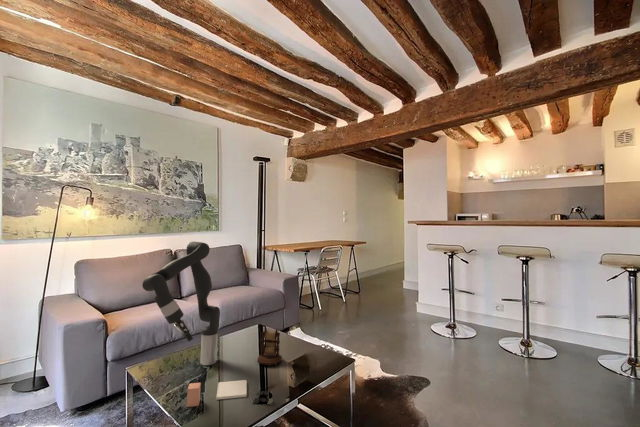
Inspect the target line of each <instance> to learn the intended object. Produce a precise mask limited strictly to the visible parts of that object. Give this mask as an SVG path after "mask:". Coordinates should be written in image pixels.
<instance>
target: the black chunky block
mask: <svg viewBox="0 0 640 427" xmlns="http://www.w3.org/2000/svg"><path fill="white" fill-rule="evenodd" d="M269 394H270V393H269V391H267V390H266V391H265V390H261V391H260V392H259V395H258V397H254V399H253V401H252V405H260V406H261V405H262V406H264V405H263V404H267V403H268V401H269V397H270V395H269Z"/></svg>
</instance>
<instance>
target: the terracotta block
mask: <svg viewBox="0 0 640 427" xmlns="http://www.w3.org/2000/svg"><path fill="white" fill-rule="evenodd" d="M201 386H202V384H201V382H192V383H189V385H188V387H187V392H186V393H187V397H186V407H187V408H189V407H199V406H200V401H201V388H202V387H201Z"/></svg>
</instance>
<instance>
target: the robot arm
mask: <svg viewBox="0 0 640 427" xmlns="http://www.w3.org/2000/svg"><path fill="white" fill-rule="evenodd" d="M209 253H210V246H209V245H208V243H206V242H202V241H190V242H188V244H187V246H186V255H184V256H181V257H179V258H176V259H174V260H172V261H170V262H168V263H167V264H165V266H163V267H162V268H160V269H159V270H158V271H157V270H156V272H154V273H152V274H150V275H149V276H147V277H146V278H145V279H144V280H143V281H142V288H143V290H145V291H146V292H155V297H154V302H155V303H156V305H157V306H158V308H159V309H160V312H161V314H162V315H163V317H164V319H165V320H166V321H167V323H168V325H173V324H174V327H175V328H176V329H177V331H179V332H180V334H181V335H182V336H183V338H184V339H186V340H187V341H188V342H191V341H192V340H193V339H194V338H193V337H192V334H191V333H190V329H188V326H187V324H186V322H185V321H184V320H183V319H182V318H183V317H184V312H183V310H182V308H180V307H181V306H179V304H178V302H177V301H176V300H175V299H174V298H173V295H172V294H171V292H170V290H169V287H168V283H167V282H168V281H170V280H172V279H173V278H174V277H175V276H177V275H178V274H180V273H181V272H182V271H184V270H185V269H188V268H189V267H190V269H191V272H192V277H193V278H192V279H193V284H194V289H195V293H196V298H197V306H198V316H199V320H200V321H202V322H205V323H209V325H208V326H204V327H202V329H201V339H200V340H201V342H200V343H201V344H200V361H199V362H200V365H202V366H211V365H214V364H216V363H217V358H218V336H219V334H218V332H219V326H220V318H221V317H220V316H221V310H220V307H218V306H213V305H209V304H208V303H209V302H208V297H209V295H210V293H211V290H212V288H213V284H212V278H211V275H210V274H209V272H208V270H207V269H206V268H205V266H204V265H203V263H202V260H204V259H205V258H207V257H208V255H209Z"/></svg>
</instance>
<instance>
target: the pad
mask: <svg viewBox="0 0 640 427" xmlns="http://www.w3.org/2000/svg"><path fill="white" fill-rule="evenodd" d="M247 389H248V388H247V379H242V380H232V381H219V382H218V384H217V389H216V390H217V391H216V397H215V398H216V399H215V400H216V401H217V400H227V399H235V398H237V399H238V398H247V395H248V394H247V393H248V392H247Z"/></svg>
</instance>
